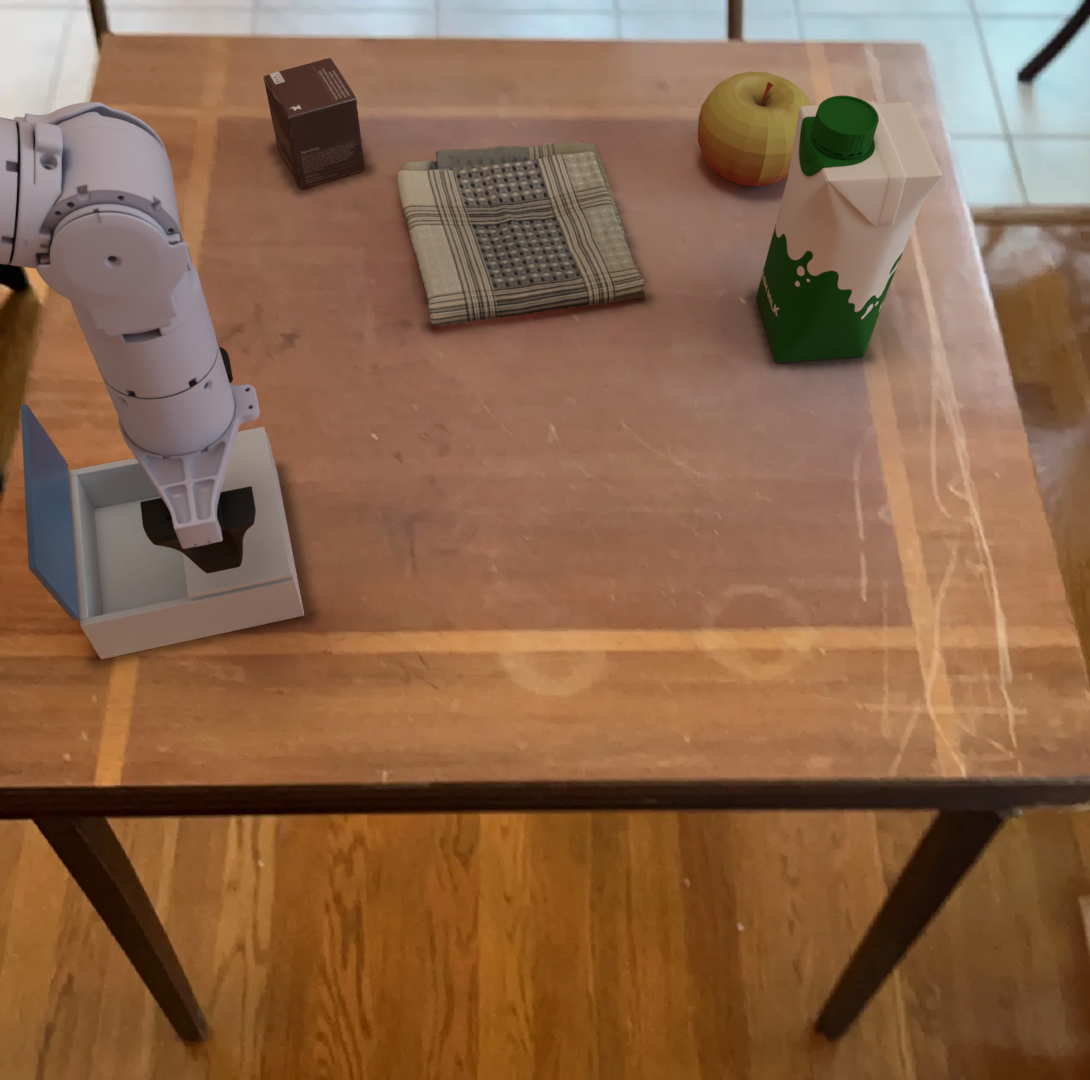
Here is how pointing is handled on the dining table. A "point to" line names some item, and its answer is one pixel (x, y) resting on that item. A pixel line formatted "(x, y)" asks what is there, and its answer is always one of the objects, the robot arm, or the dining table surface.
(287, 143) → the box
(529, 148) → the dish towel
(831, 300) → the milk carton
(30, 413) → the flap
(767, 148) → the apple
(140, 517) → the carton
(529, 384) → the dining table surface
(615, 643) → the dining table surface
